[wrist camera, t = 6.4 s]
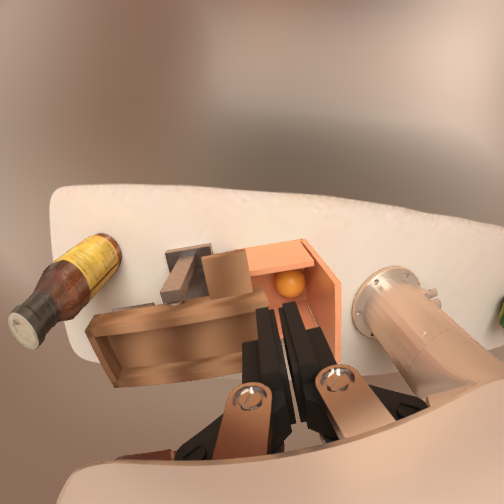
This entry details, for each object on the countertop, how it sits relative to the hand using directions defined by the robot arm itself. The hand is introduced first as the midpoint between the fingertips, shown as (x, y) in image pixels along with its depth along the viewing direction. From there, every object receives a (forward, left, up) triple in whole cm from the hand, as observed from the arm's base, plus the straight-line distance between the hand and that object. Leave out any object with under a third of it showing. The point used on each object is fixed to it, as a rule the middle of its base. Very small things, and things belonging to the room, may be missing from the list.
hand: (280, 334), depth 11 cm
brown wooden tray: (+9, +7, -16) cm, 20 cm away
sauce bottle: (+21, +1, -25) cm, 33 cm away
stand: (+9, +9, -25) cm, 28 cm away
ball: (-3, +9, -23) cm, 24 cm away
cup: (-2, +9, -25) cm, 27 cm away
